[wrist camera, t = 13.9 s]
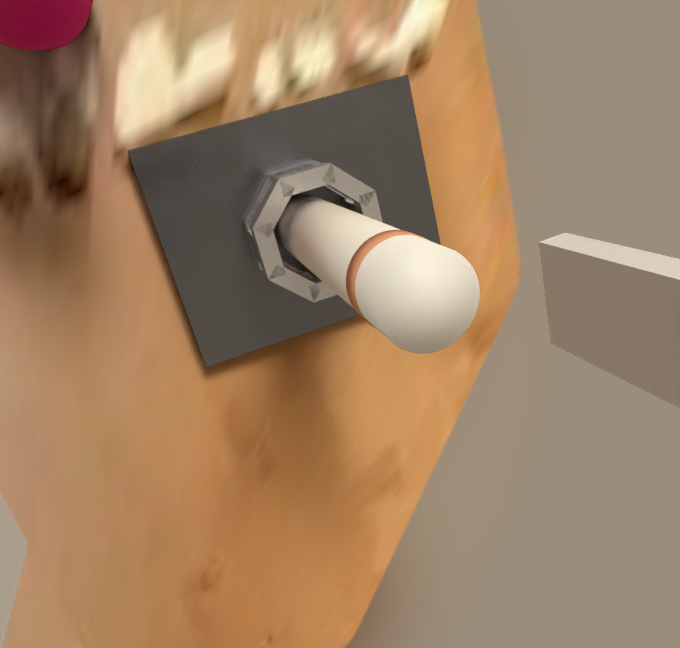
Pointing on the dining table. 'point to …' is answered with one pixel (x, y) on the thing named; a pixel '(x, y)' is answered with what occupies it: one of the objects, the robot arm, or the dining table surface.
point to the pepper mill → (42, 22)
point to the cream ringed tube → (384, 273)
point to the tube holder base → (278, 208)
